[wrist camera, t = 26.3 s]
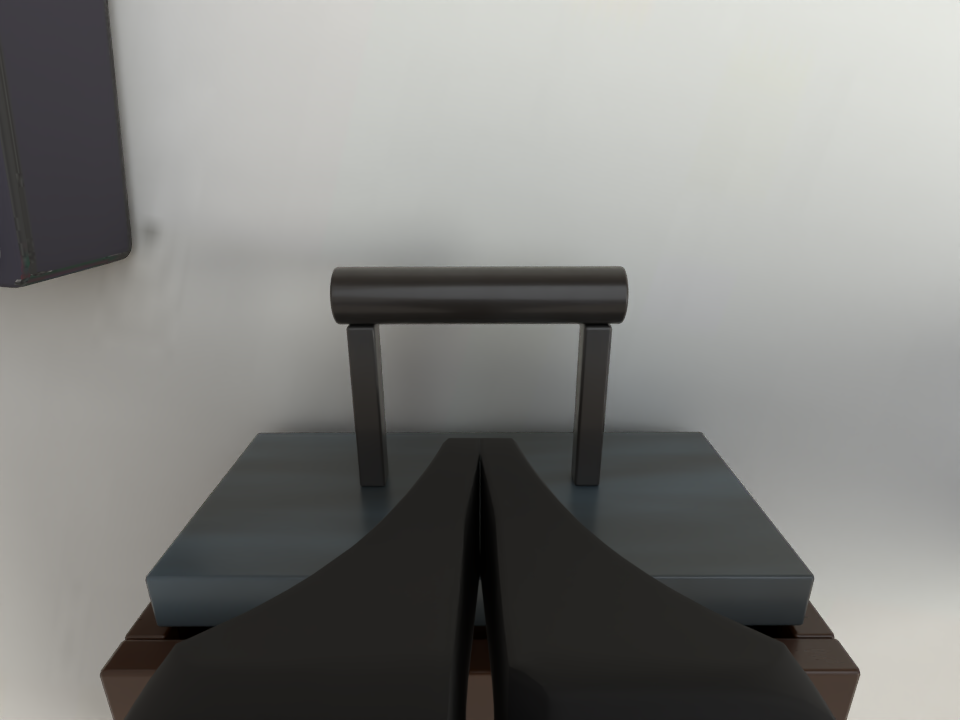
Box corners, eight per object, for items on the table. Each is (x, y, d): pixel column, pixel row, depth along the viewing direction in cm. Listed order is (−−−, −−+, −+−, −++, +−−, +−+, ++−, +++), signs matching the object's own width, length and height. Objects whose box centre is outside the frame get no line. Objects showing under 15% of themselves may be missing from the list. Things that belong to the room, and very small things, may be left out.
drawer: (230, 248, 14) (74, 309, 9) (728, 246, 14) (883, 307, 9) (305, 746, 20) (242, 966, 15) (655, 746, 20) (720, 965, 15)
